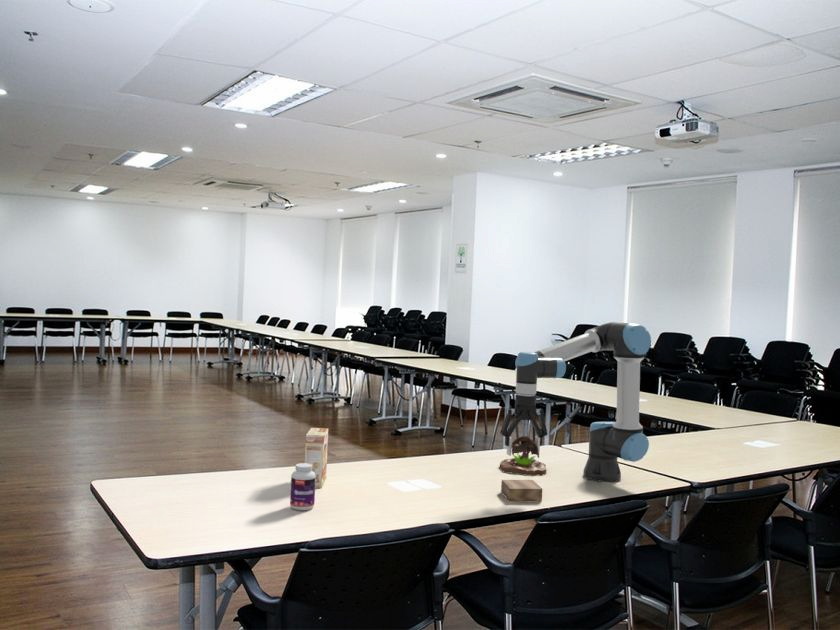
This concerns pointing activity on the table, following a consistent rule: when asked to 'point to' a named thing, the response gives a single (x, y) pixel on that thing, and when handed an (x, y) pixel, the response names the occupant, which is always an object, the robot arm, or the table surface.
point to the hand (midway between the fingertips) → (522, 454)
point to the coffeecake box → (317, 453)
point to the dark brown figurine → (525, 446)
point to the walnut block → (521, 490)
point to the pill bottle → (302, 487)
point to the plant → (523, 465)
